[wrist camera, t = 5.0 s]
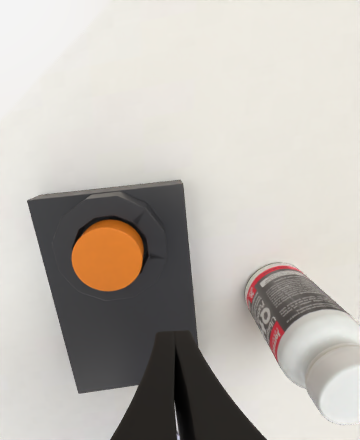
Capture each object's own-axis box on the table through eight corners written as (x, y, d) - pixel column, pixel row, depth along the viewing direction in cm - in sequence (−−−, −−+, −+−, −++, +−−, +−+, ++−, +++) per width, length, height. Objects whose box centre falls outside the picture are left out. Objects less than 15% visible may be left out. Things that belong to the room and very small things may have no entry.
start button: (147, 273, 17) (146, 287, 16) (86, 281, 17) (78, 295, 16) (139, 215, 16) (137, 223, 15) (73, 223, 16) (64, 232, 14)
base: (197, 358, 24) (204, 393, 20) (84, 374, 23) (72, 413, 20) (180, 179, 19) (185, 187, 16) (39, 194, 18) (13, 206, 15)
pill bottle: (232, 281, 22) (289, 385, 12) (290, 249, 21) (395, 332, 12) (258, 327, 23) (327, 452, 14) (314, 298, 23) (422, 406, 13)
